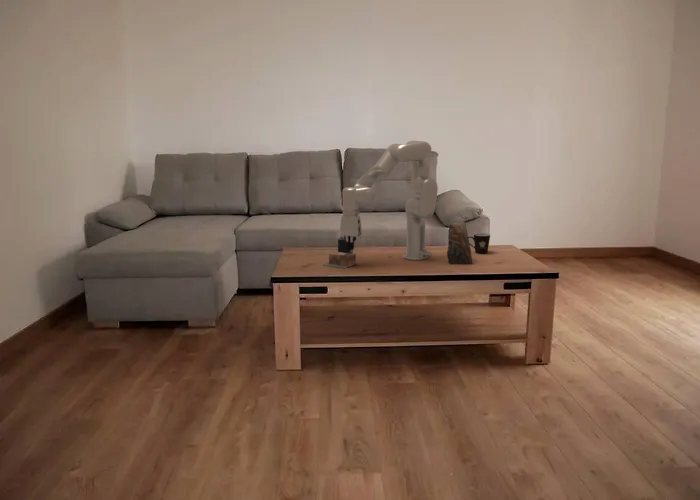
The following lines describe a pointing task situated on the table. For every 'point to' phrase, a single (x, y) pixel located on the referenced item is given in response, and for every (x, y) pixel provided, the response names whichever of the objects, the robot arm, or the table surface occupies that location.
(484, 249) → the coffee mug
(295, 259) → the table surface
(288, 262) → the table surface
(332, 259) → the walnut block
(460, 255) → the brown grey rock
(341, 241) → the small box
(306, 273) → the table surface
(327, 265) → the mat
